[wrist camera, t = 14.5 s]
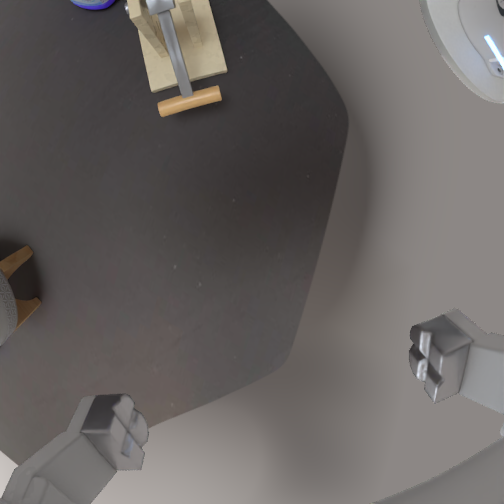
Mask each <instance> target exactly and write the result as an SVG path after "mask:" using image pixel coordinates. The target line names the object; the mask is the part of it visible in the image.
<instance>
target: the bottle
mask: <svg viewBox="0 0 504 504" xmlns="http://www.w3.org/2000/svg"><path fill="white" fill-rule="evenodd" d="M71 1H72V2H73V3H74V4H75V5H77V6H79V7H82V8H85V9H91V10H98V9H104V8H107V7H109V6H110V5H111V4H112V3H113V2H114V1H115V0H71Z"/></svg>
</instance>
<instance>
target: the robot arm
mask: <svg viewBox="0 0 504 504" xmlns="http://www.w3.org/2000/svg"><path fill="white" fill-rule="evenodd" d="M458 11H459V16H460V20H461V23H462V26H463V28H464V30H465V32H466V34H467V36H468V38H469V40H470V41H471V43H472V44H473V46H474V47H475V49H476V50H477V51H478V52H479V54H480V55H481V56H482V58H483V59H484V62H485V64H486V66H487V68H488V70H489V72H490V74H491V75H492V76H494V77H498V78H502V79H504V0H459V3H458ZM410 339H411V340H412V342H413V343H414V344H413V345H412V347H411V349H410V350H409V362H410V366H411V369H412V372H413V374H414V375H415V377H416V378H417V379H418V380H420V381H423V382H425V388H424V389H425V391H426V392H427V394H428V395H429V396H430V398H431V399H432V401H433V402H434V403H435V404H436V403H438V402H440V401H442V400H445V399H447V398H449V397H451V396H453V395H455V394H457V393H459V394H460V395H462V396H465V397H467V398H469V399H471V400H473V401H476V402H478V403H480V404H482V405H484V406H486V407H488V408H491V409H493V410H495V411H497V412H500V413H502V414H504V335H500V334H495V333H490V334H487V333H485V332H484V331H483V330H482V329H481V328H480V327H478V326H477V325H476V324H475V323H474V322H473V321H471V320H470V319H469V318H468V317H467V316H466V315H464V314H463V313H462V312H461V311H459V310H458V309H452V310H450V311H447V312H445V313H443V314H441V315H439V316H437V317H435V318H432V319H429V320H427V321H424V322H422V323H419V324H417V325H414V326H412V328H411V331H410ZM134 405H135V402H134V400H133V399H132V398H131V396H130V395H128V394H110V395H98V396H97V395H95V396H85V397H83V398H82V399H81V401H80V403H79V405H78V407H77V409H76V411H75V413H74V416H73V418H72V420H71V422H70V424H69V426H68V428H67V430H66V432H62V433H60V434H59V435H58V436H57V437H55V438H54V439H53V440H51V441H50V442H49V443H48V444H46V445H45V446H44V447H43V448H41V449H40V450H39V451H37V452H36V453H35V454H34V455H32V456H31V457H30V458H29V459H27V460H26V461H25V462H23V463H22V464H21V465H19V466H18V467H17V468H16V469H14V471H13V473H12V476H11V478H10V480H9V482H8V484H7V486H6V489H5V491H4V493H3V496H2V498H0V504H91V502H92V501H93V500H94V499H95V498H96V497H97V495H98V494H99V493H100V492H101V491H102V489H103V488H104V487H105V486H106V485H107V483H108V482H109V481H110V480H111V479H112V477H113V476H114V475H115V474H116V472H117V471H116V470H141V468H142V464H143V459H144V455H145V452H144V451H143V449H142V446H143V445H144V444H145V443H146V442H147V441H148V435H149V432H148V424H147V422H146V419H145V417H144V416H143V414H142V413H141V412H139V411H138V410H136V409H134ZM500 434H501V435H502V437H501V438H500V439H498V440H497V441H496V442H494V443H493V444H491V445H489V446H488V447H486V448H485V449H483V450H482V451H480V452H478V453H477V454H475V455H473V456H472V457H470V458H468V459H467V460H465V461H463V462H462V463H460V464H458V465H456V466H454V467H452V468H451V469H449V470H447V471H445V472H443V473H441V474H439V475H437V476H435V477H433V478H431V479H429V480H427V481H425V482H423V483H420V484H418V485H416V486H414V487H411V488H409V489H407V490H404V491H402V492H400V493H397V494H395V495H392V496H389V497H387V498H385V499H381V500H379V501H376V502H373V503H370V504H504V424H503V426H502V428H501V431H500Z"/></svg>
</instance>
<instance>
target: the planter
mask: <svg viewBox="0 0 504 504" xmlns="http://www.w3.org/2000/svg"><path fill="white" fill-rule="evenodd" d="M32 254H33V251H32V250H31V249H30V247H29V246H28V245H27V246H25V247H23V248H22V249H20V250H18V251H17V252H15V253H13V254H12V255H10V256H8V257H7V258H5V259H3V260H2V261H0V346H1V345H2V344H3V343H4V342H5V341H6V340H7V339H8V338H9V337H10V335H11V334H12V333H13V332H15V331H16V330H17V328H18V327H19V326H20V325H21V324H22V323H23V322H24V321H25V320H26V319H27V318H28V317H29V316H30V315H31V314H32V313H33V312H34V311H35V310H36V309H37V308H38V307H39V306H40V304H41V303H42V302H41V301H40V300H39V299H38V298H37V297H35V298H34V299H32V300H26V301H24V300H18V299H15V297H14V294H13V291H12V289H11V286H10V284H9V282H8V278H9V277H10V276H11V275H12V274H13V273H14V272H15V270H16V269H17V268H18V267H19V266H20V265H22V264H23V263H24V262H25V261H26V260H27V259H29V258H30V257H31V255H32Z"/></svg>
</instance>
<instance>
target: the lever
mask: <svg viewBox="0 0 504 504" xmlns="http://www.w3.org/2000/svg"><path fill="white" fill-rule="evenodd" d="M145 1H146V4H147V8H148V11H149V15H150V16H151V15H154V14H157V13H158V14H157V15H158V19H159V22H160V25H161V29H162V32H163V36H164V39H165V42H166V46H167V49H168V52H169V56H170V59H171V62H172V66H173V69H174V72H175V76H176V79H177V82H178V85H179V89H180V92H181V96H177V97H174V98H171V99H168V100H165V101H161V102H159V103H158V109H159V112H160V115H161V116H162V117H164V116H167V115H171V114H174V113H177V112H180V111H184V110H187V109H191V108H194V107H198V106H202V105H205V104H209V103H213V102H217V101H221V100H222V98H221V94H220V90H219V86H214V87H210V88H206V89H202V90H198V91H195V92H193V89H192V85H191V82H190V78H189V75H188V71H187V68H186V64H185V61H184V57H183V54H182V50H181V47H180V43H179V40H178V36H177V33H176V29H175V26H174V22H173V18H172V15H171V11H170V9H174V8H176V4H175V0H145Z"/></svg>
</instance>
